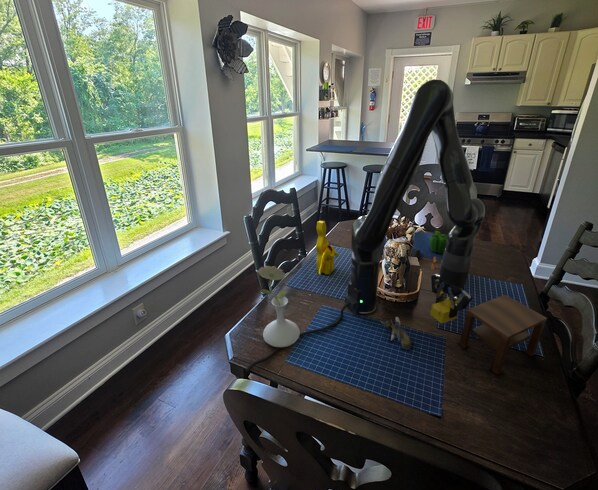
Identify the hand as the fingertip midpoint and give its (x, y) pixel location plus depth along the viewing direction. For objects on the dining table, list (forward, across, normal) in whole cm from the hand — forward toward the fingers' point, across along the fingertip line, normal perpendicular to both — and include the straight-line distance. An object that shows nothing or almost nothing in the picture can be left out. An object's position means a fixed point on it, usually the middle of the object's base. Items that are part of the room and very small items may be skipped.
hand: (445, 311), depth 100 cm
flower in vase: (+7, -18, -49) cm, 53 cm away
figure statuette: (+7, -47, -18) cm, 50 cm away
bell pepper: (+6, -39, +38) cm, 55 cm away
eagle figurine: (+7, -2, -16) cm, 18 cm away
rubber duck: (+2, 0, 0) cm, 2 cm away
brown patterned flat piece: (+6, -46, +17) cm, 49 cm away
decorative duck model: (+6, -21, +27) cm, 35 cm away
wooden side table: (+6, +14, +7) cm, 16 cm away
